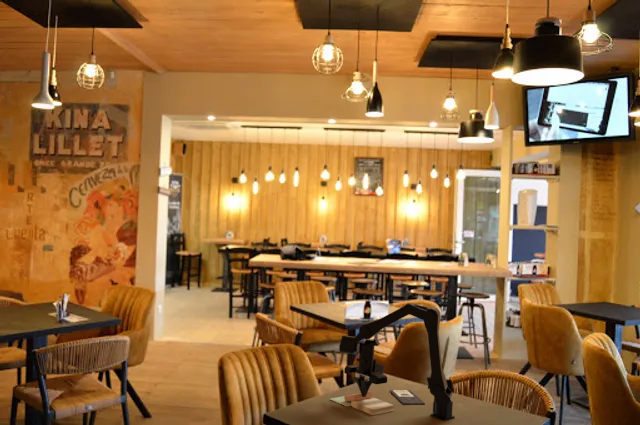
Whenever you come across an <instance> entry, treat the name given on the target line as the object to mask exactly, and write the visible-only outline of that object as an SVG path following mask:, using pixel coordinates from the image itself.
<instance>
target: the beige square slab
mask: <svg viewBox="0 0 640 425" xmlns="http://www.w3.org/2000/svg"><path fill="white" fill-rule="evenodd" d="M351 406H352V408H354V409H356V410H358V411H361V412H364V413H367V414H368V415H371V416H374V415H375V416H376V415H380V414H386V413H389V412H390V413H391V412H394V411H395V404H392V403H389V402H386V401H383V400H381V399H379V398H376V397H373V396H372V397H371V398H365V399H360V400H354V401H351ZM351 406H350V407H351Z"/></svg>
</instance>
